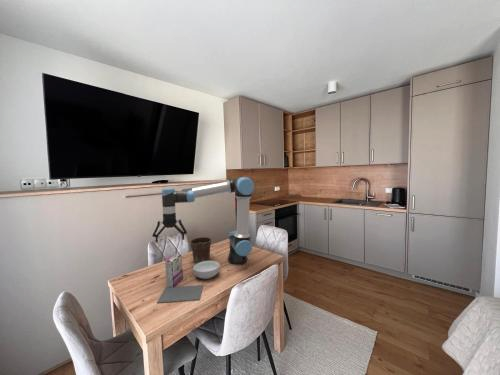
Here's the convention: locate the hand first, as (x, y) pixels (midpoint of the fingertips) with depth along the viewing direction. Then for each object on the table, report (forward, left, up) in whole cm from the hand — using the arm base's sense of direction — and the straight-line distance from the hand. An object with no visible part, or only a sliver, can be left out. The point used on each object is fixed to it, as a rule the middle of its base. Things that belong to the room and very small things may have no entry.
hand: (170, 246), depth 129 cm
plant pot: (-15, -27, -23) cm, 38 cm away
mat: (-10, +17, -22) cm, 29 cm away
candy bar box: (-3, +4, -23) cm, 23 cm away
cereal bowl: (-22, -2, -23) cm, 31 cm away
